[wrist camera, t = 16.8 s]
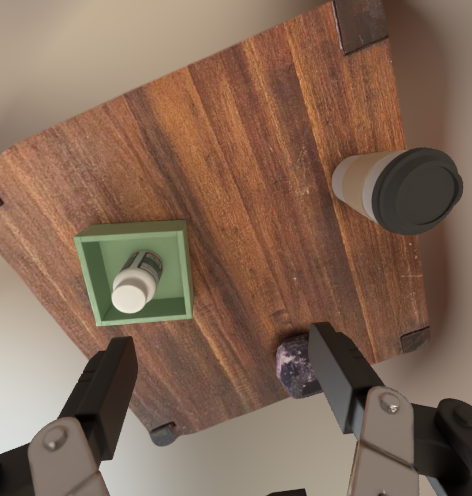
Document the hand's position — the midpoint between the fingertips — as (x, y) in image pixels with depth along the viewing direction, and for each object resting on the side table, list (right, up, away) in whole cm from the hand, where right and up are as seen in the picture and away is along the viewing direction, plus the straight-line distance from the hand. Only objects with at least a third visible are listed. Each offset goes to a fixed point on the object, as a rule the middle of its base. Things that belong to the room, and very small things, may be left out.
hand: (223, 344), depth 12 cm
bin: (-13, +2, +30) cm, 33 cm away
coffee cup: (+18, +15, +28) cm, 37 cm away
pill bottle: (-13, +2, +29) cm, 32 cm away
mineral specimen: (+12, -14, +39) cm, 43 cm away
